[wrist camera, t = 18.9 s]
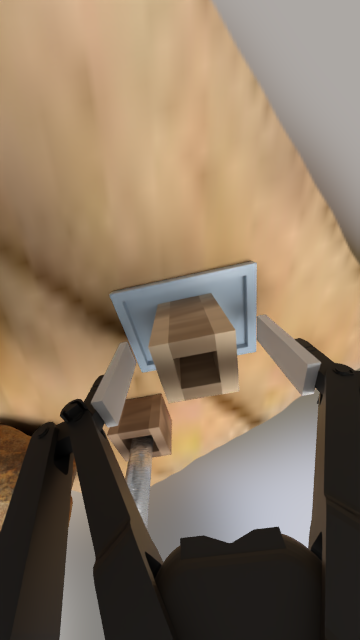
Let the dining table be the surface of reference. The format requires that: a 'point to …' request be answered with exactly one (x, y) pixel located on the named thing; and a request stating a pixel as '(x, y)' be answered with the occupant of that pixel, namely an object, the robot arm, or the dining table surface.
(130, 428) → the brown hollow block
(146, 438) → the silver metal rod
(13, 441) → the rough brown rock
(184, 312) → the block
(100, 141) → the dining table surface
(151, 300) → the tray
